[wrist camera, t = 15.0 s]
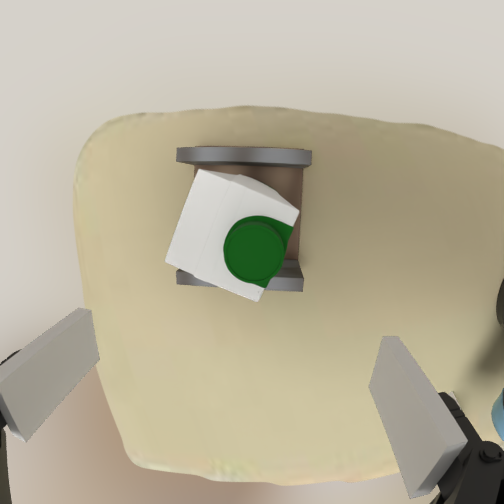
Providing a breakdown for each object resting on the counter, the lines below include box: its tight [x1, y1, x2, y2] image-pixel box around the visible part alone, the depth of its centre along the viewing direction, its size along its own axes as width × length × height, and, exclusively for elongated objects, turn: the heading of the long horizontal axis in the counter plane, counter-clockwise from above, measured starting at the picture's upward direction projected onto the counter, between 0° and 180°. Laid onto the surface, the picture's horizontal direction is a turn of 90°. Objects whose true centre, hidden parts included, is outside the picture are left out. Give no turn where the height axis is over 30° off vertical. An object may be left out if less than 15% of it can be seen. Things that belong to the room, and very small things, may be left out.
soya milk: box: [165, 169, 299, 302], centre depth 29 cm, size 9×9×20 cm
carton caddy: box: [176, 146, 312, 292], centre depth 36 cm, size 14×17×9 cm
